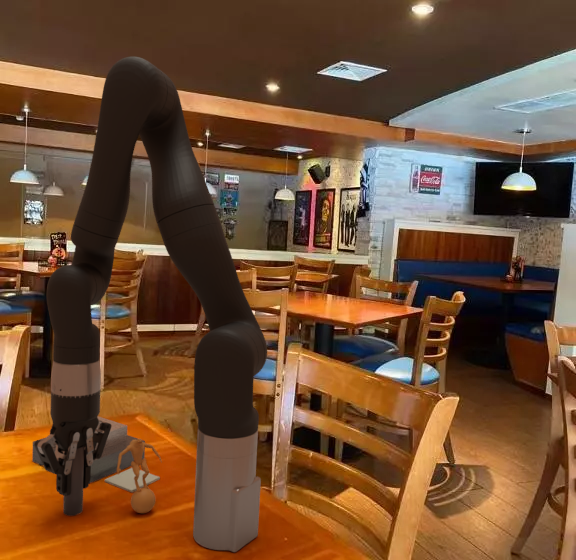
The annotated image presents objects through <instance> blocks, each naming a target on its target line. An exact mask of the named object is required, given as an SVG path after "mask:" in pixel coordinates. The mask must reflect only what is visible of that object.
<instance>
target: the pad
mask: <svg viewBox="0 0 576 560" xmlns="http://www.w3.org/2000/svg"><path fill="white" fill-rule="evenodd" d="M139 473H140V474H139V478H138V480H137V481H138V484H139V487H140V488H143V487H144V485H143V480H142V478H143V477H142V476H143V474H145V472H144V471H143V470H142V469H140V471H139ZM135 476H136V475H135V474H134V472H133V469H132V467H130V468H129V469H126V470H124V471H122V472H121V471H120V474H119V475H118V473H116V474H115V475H112V476H110V477H108V478H106V479H104V483H106V484H109V485H112V486H114V487H117V488H119V489H122V490H124V491H127V492H130V493H134V492H135V491H136V490H137V489H136V485H135V480H134V477H135ZM160 478H161V477H160V476H159V475H155V474H153V473H150V472H149V474H148V475H147V477H146V478H145V481H146V484H147V486H148V485H151V484H152V483H155V482H156V481H159V480H160Z"/></svg>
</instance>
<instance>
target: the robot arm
mask: <svg viewBox="0 0 576 560" xmlns="http://www.w3.org/2000/svg"><path fill="white" fill-rule="evenodd" d="M107 72H108V73H107V74H106V77H105V80H104V84H103V90H102V95H101V101H100V109H99V113H98V114H99V115H98V122H97V128H96V134H95V140H94V146H93V151H92V158H91V163H90V167H89V172H88V176H87V179H86V185H85V188H84V190H83V194H82V197H81V199H80V204H79V206H78V209H77V213H76V216H75V218H74V221H73V225H72V229H71V233H70V241H71V243H72V244H73V245H74V246H75V248H74V251H73V252H74V253H73V258H72V261H71V264H66V265H63V266H60V267H58V268H57V269H55V270H54V271H53V272H52V274H51V275H50V276H49V279H48V282H47V287H46V304H47V310H48V314H49V319H50V325H51V327H52V331H53V351H52V352H53V354H52V355H53V356H52V357H53V358H52V360H53V361H52V368H51V375H50V376H51V377H50V414H49V415H50V418H51V420H52V425H51V428H50V430H49V435H48V436H46V437H44V438H45V439H44V440H43V441H41V440H40V439H37V441H36V440H35V441H36V442H35V444H34V446H35V448H36V450H37V453H38V455H39V457H40V459H41V461H42V464H43V466H42V467H43V468H44V471H47V472H49V473H51V474H53V475H56V478H55V480H56V483H55V490H56V492H57V493H58V494H59V495H62V496H63V497H64V496H68V495H70V494H71V473H70V471H71V465H72V460H74V459H75V454H76V449H77V448H80V447H83V446H84V479H83V490H84V489H87V488H88V487H89V485H90V484H89V482H90V477H91V465H92V464H93V461H94V460H95V459H96V458H97V459H99V458H100V457H101V456H102V453H103V450H104V447H105V444H106V441H107V438H108V435H109V433H110V430H111V424H110V423H107V422H104V421H100V420H99V419H98V417H97V416H99V415H100V412H101V381H102V380H101V377H102V373H101V372H102V371H101V363H100V362H101V361H100V360H101V359H100V357H101V356H100V355H101V353H100V351H101V334H100V333H101V332H100V329H99V327H98V326H97V325H96V324H94V323H93V318H92V306H93V305H95V304H97V303H98V302H100V301H101V300H102V299H103V298H104V296H105V295H106V293H107V290H108V288H109V286H110V282H111V279H112V274H113V266H114V259H115V249H116V246H117V243H118V241H119V239H120V235H121V232H122V229H123V226H124V223H125V220H126V217H127V213H128V209H129V204H130V196H131V173H132V171H131V170H132V162H133V156H134V151H135V148H136V144H137V141H138V138H139V137H140V139H141V143H142V144H143V147H144V150H145V152H146V154H147V157H148V161H149V166H150V171H151V198H152V200H151V201H152V209H153V213H154V214H153V215H154V217H155V221H156V224H157V227H158V229H159V233H160V236H161V240H162V242H163V245H164V247H165V249H166V252H167V254H168V256H169V257H170V260H171V261H172V263H173V264H174V266H175V268H177V270H178V272H179V273H180V274H181V275H182V277H183V278H184V280H185V281H186V283H188V285H189V286H190V287H191V289H192V290H193V292H194V293H195V295H196V297H197V298H198V300H199V303H200V305H201V307H202V309H203V313H204V315H205V319H206V323H207V324H208V329H209V331H208V332H207V333H206V334H204V335H203V337H202V338H201V339H200V340H199V342H198V344H197V347H196V350H195V354H194V362H193V363H194V366H193V367H194V369H193V381H194V382H193V387H194V388H193V403H194V411H195V414H196V416H197V436H196V437H197V438H196V439H197V440H196V459H195V460H196V461H195V464H196V465H195V482H194V483H195V484H194V485H195V486H194V503H193V504H194V507H193V508H194V509H193V510H194V511H193V512H194V514H193V531H192V532H193V533H192V535H193V538H194V541H195V542H196V543H197V544H199V545H200V546H202V547H204V548H207V549H210V550H215V551H230V552H232V553H236V552H238V551H239V550H240V549H242V548H244V546H246V545H247V544H249V543H250V542H252V541H253V540H254V539H255V538H257V537H258V535H259V519H260V518H259V517H260V503H261V502H260V499H261V497H260V496H261V485H262V484H261V482H262V481H261V480H262V479H261V477H260V476H258V475H257V476H256V474H257V471H256V470H257V457H258V456H257V452H258V437H259V421H260V420H259V419H260V418H259V417H260V416H259V412H258V410H257V408H256V407H254V377H256V375H258V374H259V373H260V372H261V370H262V369H263V368H264V366H265V364H266V362H267V359H268V358H267V357H268V347H267V346H268V345H267V341H266V338H265V335H264V333H263V331H262V329H261V327H260V324H259V322H258V320H257V319H256V317H255V315H254V312H253V310H252V307H251V305H250V303H249V301H248V299H247V296H246V294H245V292H244V290H243V288H242V285H241V281H240V279H239V275H238V272H237V269H236V267H235V263H234V260H233V256H232V255H231V254H232V253H231V251H230V247H229V246H228V243H227V239H226V236H225V232H224V229H223V226H222V223H221V220H220V217H219V214H218V212H217V209H216V206H215V203H214V201H213V197H212V196H211V193H210V191H209V190H210V189H209V188H208V185H207V182H206V179H205V177H204V174H203V172H202V169H201V167H200V165H199V162H198V160H197V157H196V156H195V152H194V150H193V147H192V144H191V143H192V142H191V140H190V137H189V136H190V135H189V132H188V128H187V124H186V120H185V116H184V111H183V107H182V102H181V100H180V95H179V92H178V89H177V86H176V85H175V83H174V82H173V80H172V79H171V77H169V76H168V75H167V74H166V73H165V72H164V71H162V70H161V69H160V68H158V67H157V66H156V65H154V64H153V63H151V62H150V61H149V60H147V59H145V58H142V57H139V56H134V55H133V56H126V57H123V58H121V59H119V60H118V61H116V62H115V63H114V64H113V65H112V67H110V69H109V71H107ZM54 442H55V443H56V449H55V447H54ZM97 443H98V446H97V449H96V450H95V447H96V445H97ZM54 450H55V453H54ZM65 451H67V452H68V453H66V452H65ZM63 462H64V465H63Z"/></svg>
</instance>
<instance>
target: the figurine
mask: <svg viewBox="0 0 576 560" xmlns="http://www.w3.org/2000/svg"><path fill="white" fill-rule="evenodd" d="M142 440H143V439H142V438H138V440H132V441H131V442H130V444H129V446H127V448H126V449H124V450H123V451H122V452H121V453H120V454H119V457H118V465H117V472H116V473H117V474H118V475H119V474H120V473H121V471H122V470H121V469H120V468H119V467H120V464H121V458H122V455H124V454H125V453H127V452H128V451H131V453H132V456H133V458H134V461H132V462H131V466H130V468H132V469H133V472H134V474H135V475H136V476H135V477H134V480H135V485H136V489H137V490H136V491H134V492H132V495H131V498H130V506H131V508H132V510H134V511H135V512H136V513H138V514H147V513H149V512H150V511H151V510H152V509H153V508H154V506H155V504H156V495H155V493H154V491H153V490H152V489H150V487H149V486H148V485H147V484H146V481H145V478H146V477H147V475H148V474H149V473H150V469H149V467H148V464H147V458H145V457H144V458H143V460H142V455H143V452H144V447H145V448H147V449H151V450H152V452H153V453H154V454H155V456H157V458H159V461H160V463H161V464H162V463H163V462H162V457H161V456H160V454H159V452H158V451H157V450H156V448H155V447H154V446H153V444H149V443H146V442H145V443H144V442H142ZM140 467H141V468H140ZM119 470H120V471H119ZM140 470H142V471H144V472H145V474H143V476H142V477H143V478H142V480H143V485H144V487H142V488H140V487H139V484H138V481H137V480H138V478H139V474H140V473H139V471H140Z"/></svg>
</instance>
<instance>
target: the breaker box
mask: <svg viewBox="0 0 576 560" xmlns="http://www.w3.org/2000/svg"><path fill="white" fill-rule="evenodd" d="M97 417H98V419H99V420H100V421H104V422H107V423H110V424H111V430H110V433H109V435H108V438H107V441H106V444H105V447H104V450H103V453H102V456H101V457H100V458H99V459H97V458H96V459H95V460H94V461H93V464H92V465H91V477H90V482H89V485H90V484H92V483H94V482H97V481H99V480H101V479H104V478H106V477H108V476H111V475H113V474H116V473H118V472H117V465H118V457H119V454H120V453H121V452H122V451H123V450H124V449H126V448H127V446H129V444H130V442H131V441H132V440H138V439H139V438H138V437H134V436H132V435H128V425H127V424H123V423H120V422H116V421H114V420H111V419H107V418H104V417H102V416H99V415H98V416H97ZM45 438H46V437H43V438H39V440H41V441H43V440H44V439H45ZM37 440H38V439H37ZM37 440H34V441H32V460H31V461H32V463H35V464H37V465H40V466H42V467H44V466H43V464H42V461H41V459H40V457H39V455H38V453H37V450H36V448H35V446H34V444H35V442H36V441H37ZM141 440H142V442H144V443H146V441H145V440H143V439H141ZM97 446H98V443H97V445H96V447H95V450H96V449H97ZM54 447H55V449H56V443H55V442H54ZM145 448H146V447H144V452H143V455H142V460H143V458H145ZM54 453H55V450H54ZM132 461H134V458H133V456H132V453H131V451H128V452H127V453H125V454H124V455H122V458H121V464H120V467H119V468H120V469H121V471H122V470H125V469H126V468H129V467H131V462H132ZM63 465H64V462H63ZM119 471H120V470H119ZM121 471H120V472H121Z"/></svg>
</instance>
